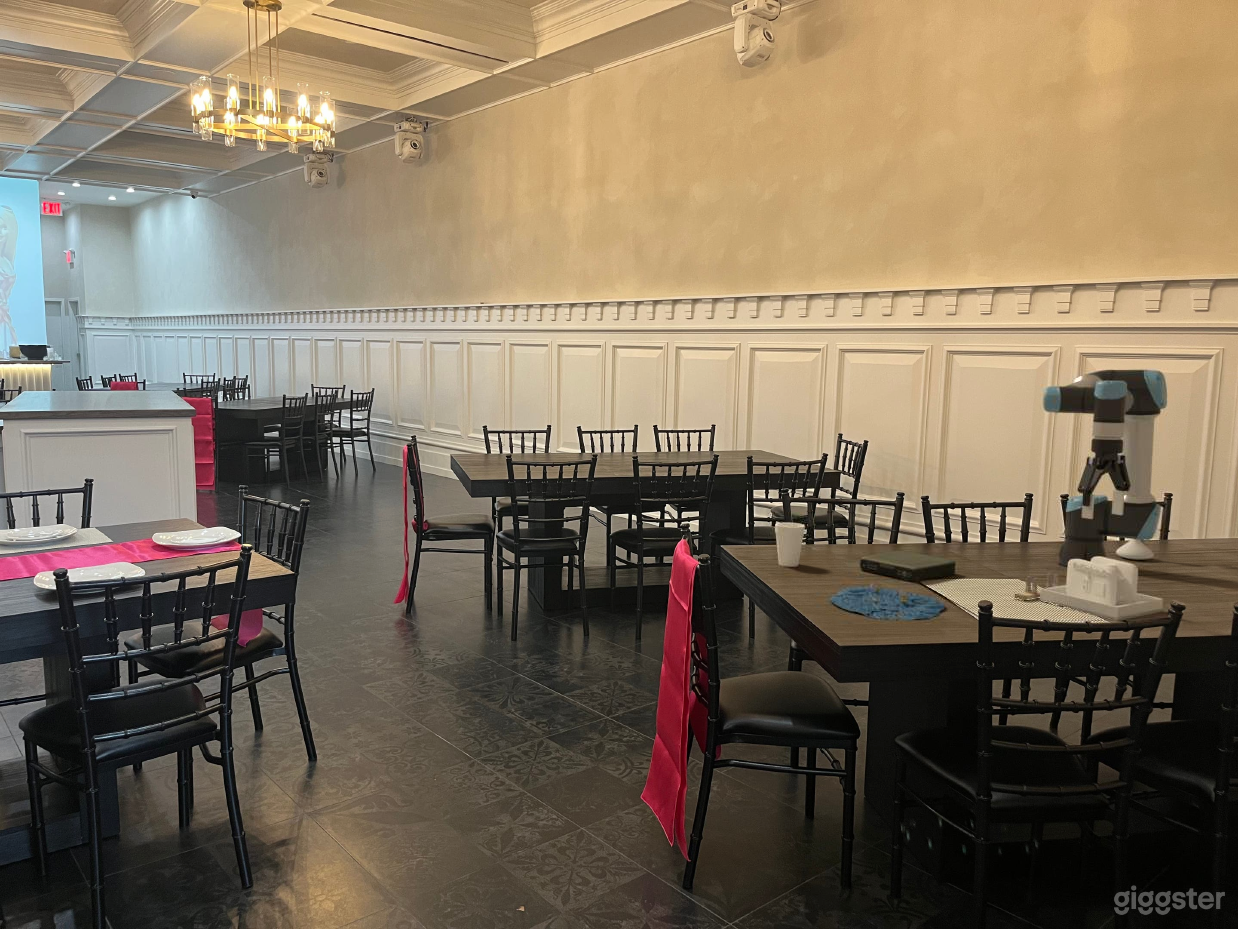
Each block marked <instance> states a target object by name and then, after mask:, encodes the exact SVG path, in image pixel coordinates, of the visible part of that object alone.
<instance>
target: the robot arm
mask: <svg viewBox="0 0 1238 929" xmlns="http://www.w3.org/2000/svg"><path fill="white" fill-rule="evenodd" d="M1042 398H1043V399H1042V404H1043V405H1042V406H1043V409H1044V411H1045V412H1046V413H1054V414H1058V413H1062V414H1086V415H1087V414H1088V415H1089V414H1090V415H1093V417H1092V418H1093V419H1092V434H1091V435H1092V436H1093V437H1092V439H1091V447H1090V451H1091V452H1092V453H1094V457H1093V456H1087V457H1086V463H1085V467H1084V469H1083V473H1082V475H1081V478H1080V480H1079V484H1078V486H1077V492H1078V493H1079V494H1082V495H1077V496H1072V497H1070V498H1069V499H1068V500H1067V504H1066V509H1065V529H1064V541H1063V543H1062V546H1061V548H1060V550H1059V553H1058V555H1057V560H1056V562H1057V564H1058V565H1060V564H1061V566H1063V567H1067V568H1068V562H1069V561H1070V560H1071V559H1082V560H1086V561H1090V562H1091V559H1092V558H1093V557H1098V556H1101V557H1105V558H1109V557H1108V553H1107V550H1106V545H1105V537H1111V538H1123V539H1130V540H1131V539H1135V540H1138V539H1139V540H1143V541H1150V540H1153V538H1154V536H1155V534H1156V533H1157V532H1156V531H1157V528H1158V524H1159V521H1160V516H1161V510H1162V506H1161V504H1158V503H1157V502H1156V501H1157V499H1156V496H1154V495H1153V494H1152V493H1151V491H1152V490H1151V488H1152V472H1153V471H1152V470H1153V456H1154V455H1153V454H1154V453H1153V451H1154V450H1153V449H1154V432H1155V420H1156V418H1158V417H1159V416H1160V415H1161V413H1162V412H1161V410H1163V409H1165V408H1166V407H1167V405H1168V389H1167V381H1166V378H1165V375H1164V373H1163V372H1161V371H1160V370H1154V369H1153V370H1152V369H1103V370H1098V371H1094V372H1090V373H1087V374H1083V375H1081V376H1079V377H1078V378H1076V379H1075V380H1074V381H1073V382H1072V383H1070V384H1067V385H1064V386H1063V385H1062V386H1059V385H1056V386H1055V385H1054V386H1053V385H1052V386H1047V387H1046V388H1045V389H1044V392H1043V397H1042ZM1105 474H1108V476H1109V477H1110V480H1111V482H1112V484H1113V486H1114V488H1115V489H1114V490H1113V491H1112V500H1109V497H1108V496H1107V495H1105V494H1103V495H1102V494H1093V493H1094V491H1095V490H1096V487H1097V486H1098V484H1099V482H1100V480H1101V478H1102V477H1103V476H1104V475H1105Z"/></svg>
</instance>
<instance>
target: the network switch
mask: <svg viewBox="0 0 1238 929" xmlns="http://www.w3.org/2000/svg"><path fill="white" fill-rule="evenodd" d="M859 567H860V571H862V572H865V571H866V572H865V573H870V572H871V573H870V574H875V573H876V574H877V575H883V576H888V577H892V578H898V579H902V580H903V581H905V582H910V583H911V582H913V583H919V582H923V581H922V580H924V581H927V580H933V578H934V579H940V578H944V577H949V576H954V575H955V574H956V562H955V560H951V559H948V558H943V557H936V556H931V555H928V554H927V555H926V554H920V553H915V552H911V551H905V550H902V549H901V550H895V551H889V552H883V553H878V554H873V555H865V556H862V557H861V558H860V560H859Z"/></svg>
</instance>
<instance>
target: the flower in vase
mask: <svg viewBox="0 0 1238 929" xmlns="http://www.w3.org/2000/svg"><path fill="white" fill-rule="evenodd" d="M1115 553H1116V555H1118V556H1120V557H1121V558H1126V559H1130V560H1143V561H1144V560H1150V559H1153V558H1154V557H1155V555H1154V552H1153V551H1152V550H1151V549H1150V548H1149V547H1148V546H1146V544H1144V543H1143V542H1142V541H1141V540H1139V539H1138V540H1135V539H1130V540H1129V541H1127V542H1126V543H1124V544H1123V545H1121V546H1120V547H1119V548H1117V550H1116V551H1115Z"/></svg>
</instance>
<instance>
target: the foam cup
mask: <svg viewBox="0 0 1238 929" xmlns="http://www.w3.org/2000/svg"><path fill="white" fill-rule="evenodd" d="M774 526H775V527H774V532H775V539H776V548H777V550H776V551H777V560H778V565H779V566H783V567H788V568H789V567H793V568H794V567H798V566H799V564H800V557H801V553H802V552H801V551H802V545H803V540H804V534H805V528H806V527H805V524H804V523H803V524H802V523H797V522H778V523H775V525H774Z"/></svg>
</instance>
